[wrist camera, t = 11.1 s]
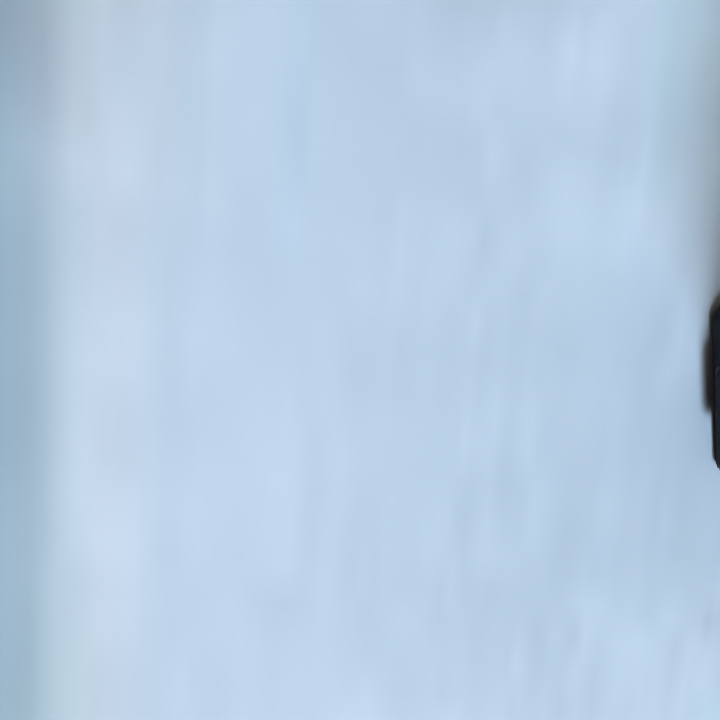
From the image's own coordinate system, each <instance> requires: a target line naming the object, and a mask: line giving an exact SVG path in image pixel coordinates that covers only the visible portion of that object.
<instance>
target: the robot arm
mask: <svg viewBox="0 0 720 720" xmlns="http://www.w3.org/2000/svg"><path fill="white" fill-rule="evenodd" d="M712 323H713V360H714V396H715V433H716V464H717V467H718V468H719V469H720V307H719V308H718V310H717V311H716V312H715V314H714V316H713V322H712Z"/></svg>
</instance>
